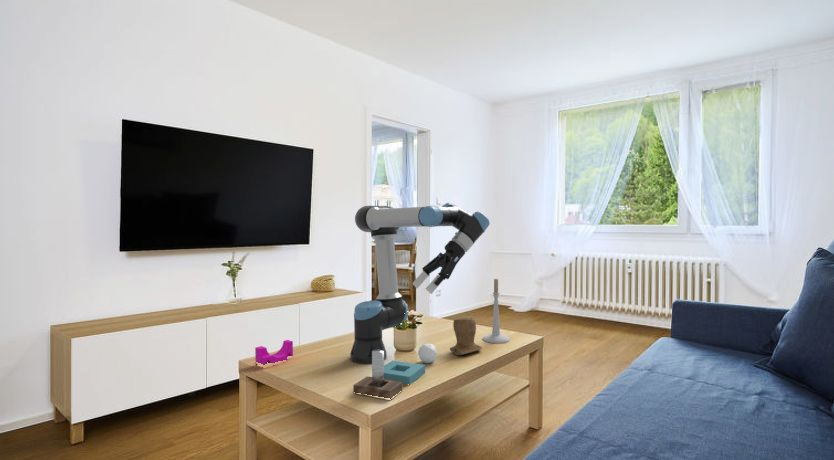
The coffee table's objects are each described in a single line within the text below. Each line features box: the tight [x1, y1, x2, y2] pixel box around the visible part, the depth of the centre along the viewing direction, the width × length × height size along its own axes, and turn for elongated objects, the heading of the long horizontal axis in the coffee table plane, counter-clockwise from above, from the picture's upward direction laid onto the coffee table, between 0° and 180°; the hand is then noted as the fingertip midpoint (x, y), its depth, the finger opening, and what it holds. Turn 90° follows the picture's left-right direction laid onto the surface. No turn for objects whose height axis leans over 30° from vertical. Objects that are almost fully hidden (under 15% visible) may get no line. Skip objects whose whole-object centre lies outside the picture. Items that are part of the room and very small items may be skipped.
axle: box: [371, 349, 385, 387], centre depth 151 cm, size 4×4×14 cm
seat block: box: [384, 360, 426, 386], centre depth 167 cm, size 14×14×3 cm
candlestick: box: [482, 278, 510, 344], centre depth 217 cm, size 13×13×30 cm
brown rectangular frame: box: [352, 375, 404, 399], centre depth 152 cm, size 14×9×3 cm, turn 66°
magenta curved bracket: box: [254, 339, 294, 365], centre depth 184 cm, size 15×6×8 cm, turn 140°
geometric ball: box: [417, 343, 438, 364], centre depth 183 cm, size 8×8×8 cm
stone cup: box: [449, 317, 483, 356], centre depth 198 cm, size 15×12×15 cm
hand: (421, 288), depth 163 cm, fingers open, 13 cm apart
